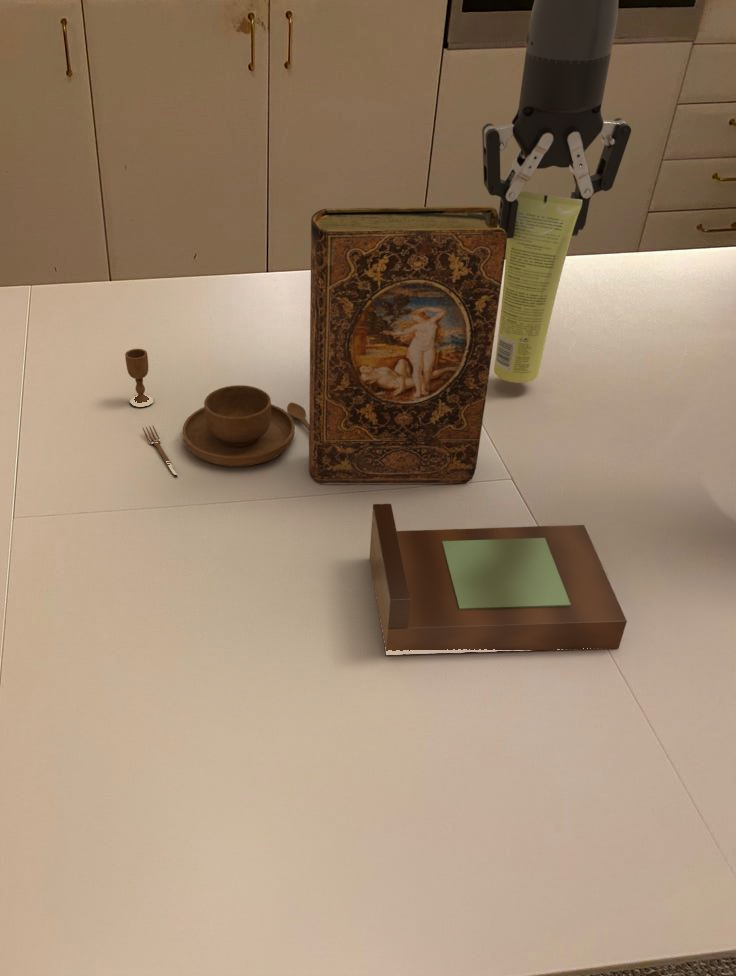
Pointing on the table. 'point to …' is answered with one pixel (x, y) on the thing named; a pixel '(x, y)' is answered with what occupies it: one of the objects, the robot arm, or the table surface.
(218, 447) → the place setting
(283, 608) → the table surface
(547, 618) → the brown wooden stand
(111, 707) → the table surface
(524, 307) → the tube
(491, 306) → the book
